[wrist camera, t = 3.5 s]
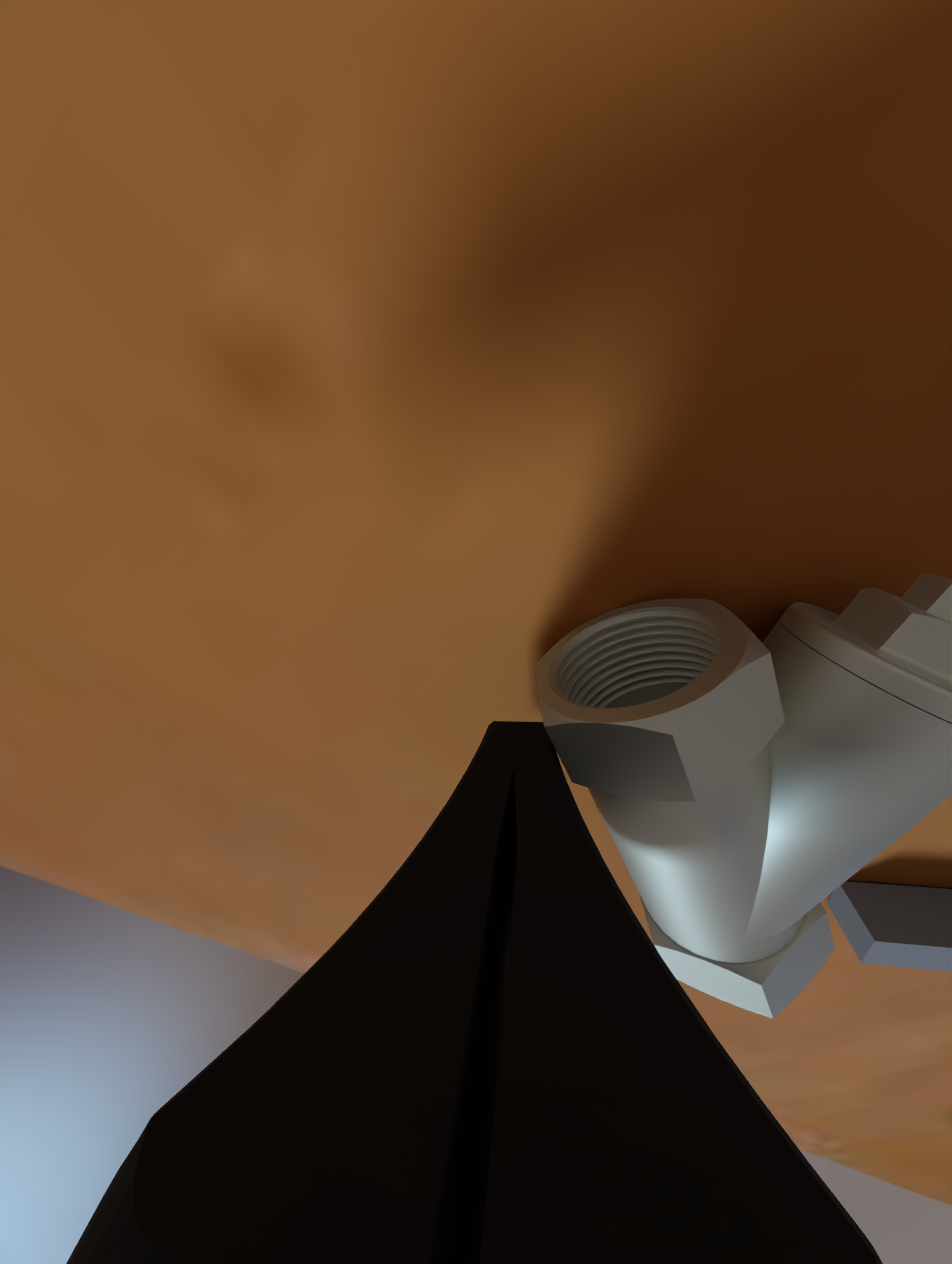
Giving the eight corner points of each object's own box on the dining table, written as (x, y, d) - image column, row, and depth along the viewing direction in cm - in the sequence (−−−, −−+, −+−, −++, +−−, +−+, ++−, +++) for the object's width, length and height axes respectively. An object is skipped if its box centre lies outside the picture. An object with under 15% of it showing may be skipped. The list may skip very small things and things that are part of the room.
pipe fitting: (879, 501, 8) (530, 635, 9) (1182, 570, 4) (545, 764, 6) (903, 799, 11) (637, 860, 12) (1091, 980, 7) (687, 1033, 9)
